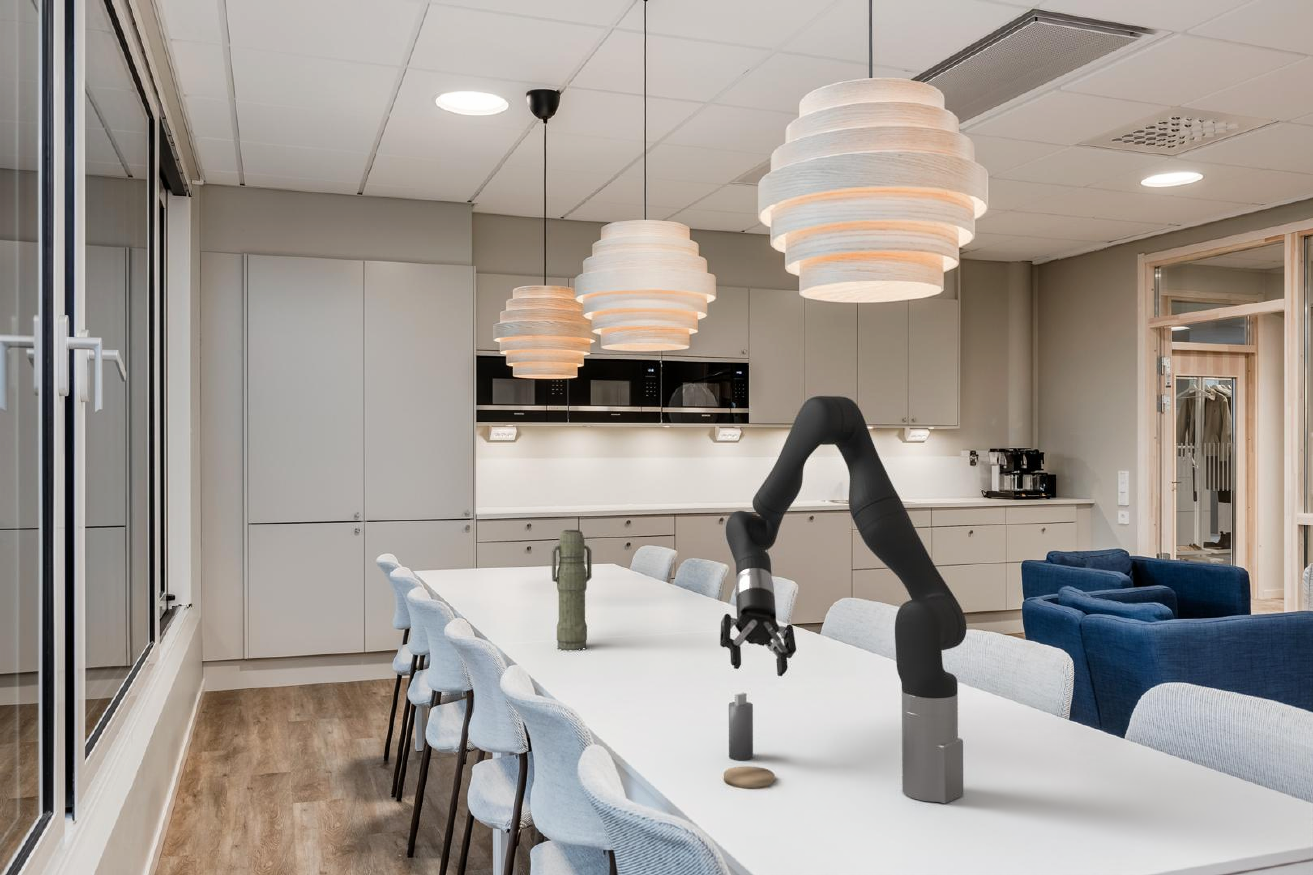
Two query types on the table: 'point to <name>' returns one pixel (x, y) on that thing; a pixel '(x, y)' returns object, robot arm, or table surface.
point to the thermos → (571, 589)
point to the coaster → (749, 777)
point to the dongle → (740, 729)
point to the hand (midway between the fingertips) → (759, 670)
